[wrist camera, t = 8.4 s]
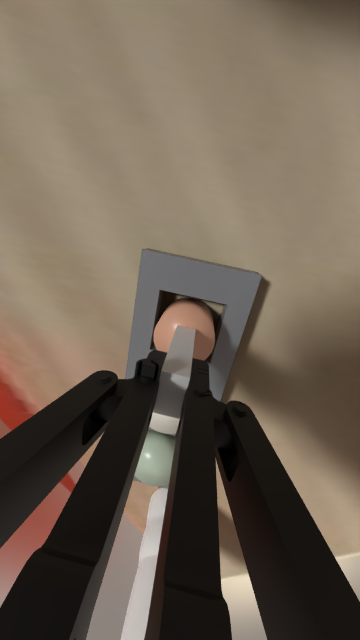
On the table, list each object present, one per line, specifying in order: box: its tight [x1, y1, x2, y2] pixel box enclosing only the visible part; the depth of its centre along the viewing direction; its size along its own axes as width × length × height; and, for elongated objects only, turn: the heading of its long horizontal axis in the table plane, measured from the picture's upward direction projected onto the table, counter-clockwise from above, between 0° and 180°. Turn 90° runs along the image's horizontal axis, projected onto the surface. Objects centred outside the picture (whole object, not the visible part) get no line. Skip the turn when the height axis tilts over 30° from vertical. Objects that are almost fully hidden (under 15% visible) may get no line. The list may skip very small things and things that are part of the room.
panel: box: [125, 249, 262, 489], centre depth 23 cm, size 28×10×2 cm, turn 169°
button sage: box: [134, 429, 176, 486], centre depth 25 cm, size 5×5×4 cm
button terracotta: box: [154, 298, 215, 361], centre depth 19 cm, size 5×5×4 cm
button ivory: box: [149, 413, 180, 434], centre depth 22 cm, size 5×5×4 cm
